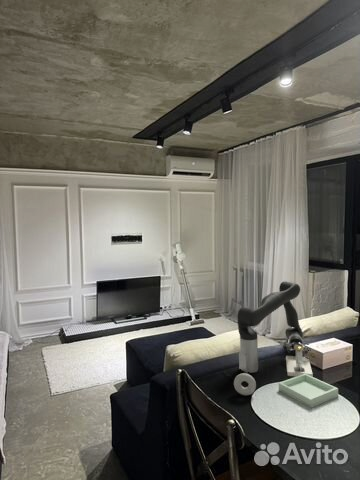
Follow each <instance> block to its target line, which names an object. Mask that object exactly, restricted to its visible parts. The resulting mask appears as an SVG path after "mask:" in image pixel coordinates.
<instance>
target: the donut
mask: <svg viewBox="0 0 360 480" xmlns="http://www.w3.org/2000/svg"><path fill="white" fill-rule="evenodd" d="M243 382H246V383H247V384H248V386H246V387H245V386H243V385H242V383H243ZM233 386H234V389H235V391H236V392H237V393H238V394H240V395H242V396H249V395H252V394H253V393H254V392H255V390H256V389H257V388H256V387H257V382H256V380H255V378H254V377H253V376H252V375H250V374H249V373H246V372H243V373H240V374H238V375H236V376H235V378H234V380H233Z"/></svg>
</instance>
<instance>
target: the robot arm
mask: <svg viewBox="0 0 360 480" xmlns="http://www.w3.org/2000/svg"><path fill="white" fill-rule="evenodd" d="M278 289H279V290H278V291H276V292H272V293H269V294H267V295H266V296H264V297H263V298H262V299H261V302H260V306H258V307H257V308H251V307H245V306H243V307H240V308H239V310H238V312H237V326H238V327H237V328H238V334H239V344H240V345H239V347H240V348H239V349H240V350H239V351H238V363H239V365H238V367H239V368H238V369H239V370H240V369H241V371H243V373H246V374H249V373H252V374H253V373H257V372H258V371H259V353H258V352H259V350H258V349H259V348H258V345H259V344H258V332H257V331H255V330H254V329H253V328H252V327H257V326H258V325H259V324H260V323H262V321H263V320H264V319H266V317H268V316H269V315H271V314H272V313H273V312H275V311H276V310H278V309H279V308H280V307H282V306H283V307H284V311H285V316H286V317H285V318H286V323H287V326H289V327H288V328H286V329H285V333H284V334H285V337H286V338H287V340H288V343H287V342H286V341H285V342H283V350H284V351H286V350H287V352H288V353H289V354H291V351H296V350H295V349H294V346H302V347H304V350H302V352H304V354H305V355H307V354H308V351H309V350H308V348H307V347H305V345H310V344H309V343H306V344H304V343H303V342H304V341H303V339H302V338H303V337H304V332H303V331H302V328H301V326H300V323H299V322H300V321H299V316H298V312H297V310H296V308H295V306H294V305H293V304H292V302H291V300H294V299H296V298H297V297H298V296H299V295H300V293H301V287H300V285H299V284H298V283H296V282H291V281H290V282H289V281H285V280H283V281H281V283H280V284H279V288H278ZM248 372H249V373H248Z"/></svg>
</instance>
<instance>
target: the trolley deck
mask: <svg viewBox="0 0 360 480" xmlns="http://www.w3.org/2000/svg"><path fill="white" fill-rule="evenodd" d="M305 357H306V356H302V362H303V372H297V371H296V355H295V356H293V355H286V356H285V361H286V372H287V377H297V376H300V375H302V374H307V375H309V376H312V377H313V376H314V375H313V374H314V373H313V371H312V367H311V362H310V359H307V358H305Z"/></svg>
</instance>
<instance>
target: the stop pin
mask: <svg viewBox="0 0 360 480" xmlns="http://www.w3.org/2000/svg"><path fill="white" fill-rule="evenodd" d="M294 349H295V350H294V351H295V356H296V371H297V372H303V362H302V357H303V351H302V350H304V347H302V346H294Z"/></svg>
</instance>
